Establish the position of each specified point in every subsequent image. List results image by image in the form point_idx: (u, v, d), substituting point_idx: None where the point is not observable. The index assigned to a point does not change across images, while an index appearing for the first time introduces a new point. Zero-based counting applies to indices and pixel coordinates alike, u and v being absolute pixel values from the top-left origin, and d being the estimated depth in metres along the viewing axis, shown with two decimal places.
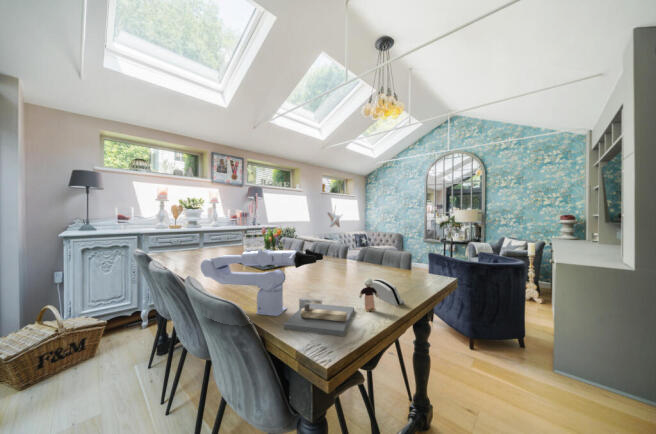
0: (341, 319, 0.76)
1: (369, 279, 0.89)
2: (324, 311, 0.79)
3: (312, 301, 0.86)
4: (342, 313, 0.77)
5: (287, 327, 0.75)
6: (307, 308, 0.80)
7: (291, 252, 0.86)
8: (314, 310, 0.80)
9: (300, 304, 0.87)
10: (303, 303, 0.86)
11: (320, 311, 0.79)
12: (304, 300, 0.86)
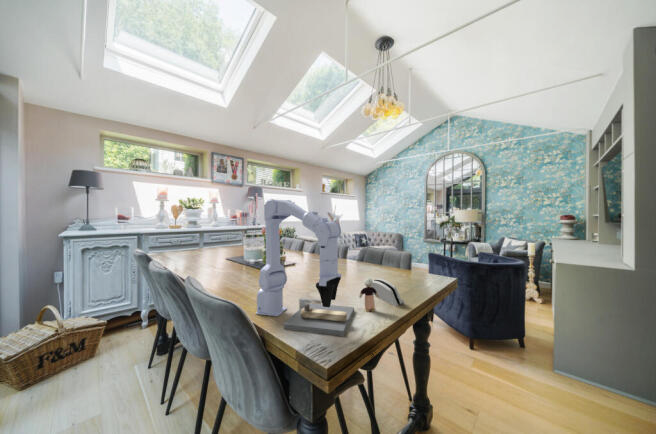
0: (341, 319, 0.76)
1: (369, 279, 0.89)
2: (324, 311, 0.79)
3: (312, 301, 0.86)
4: (342, 313, 0.77)
5: (287, 327, 0.75)
6: (307, 308, 0.80)
7: (334, 270, 0.70)
8: (314, 310, 0.80)
9: (300, 304, 0.87)
10: (303, 303, 0.86)
11: (320, 311, 0.79)
12: (304, 300, 0.86)
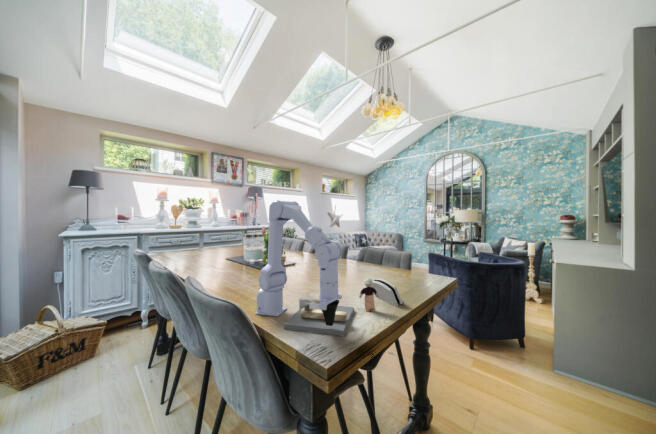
0: (341, 319, 0.76)
1: (369, 279, 0.89)
2: None
3: (312, 301, 0.86)
4: (342, 313, 0.77)
5: (287, 327, 0.75)
6: (307, 308, 0.80)
7: (334, 293, 0.70)
8: (314, 310, 0.80)
9: (300, 304, 0.87)
10: (303, 303, 0.86)
11: (320, 311, 0.79)
12: (304, 300, 0.86)
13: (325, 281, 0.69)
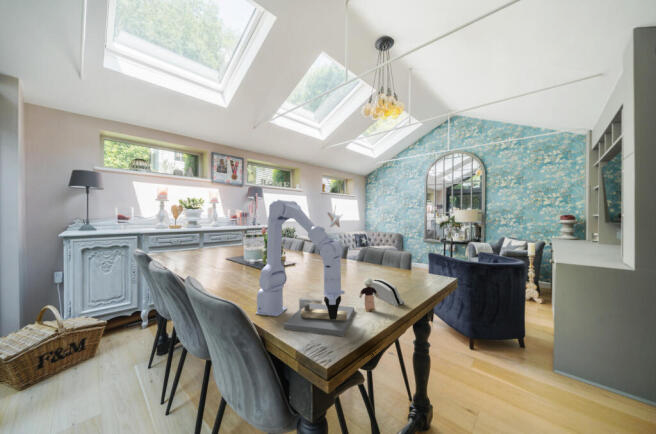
0: (341, 318, 0.76)
1: (369, 279, 0.89)
2: (324, 311, 0.79)
3: (312, 301, 0.86)
4: (342, 312, 0.78)
5: (287, 327, 0.75)
6: (307, 308, 0.80)
7: (339, 288, 0.74)
8: (314, 310, 0.80)
9: (300, 304, 0.87)
10: (303, 303, 0.86)
11: (320, 311, 0.79)
12: (304, 300, 0.86)
13: (330, 278, 0.74)
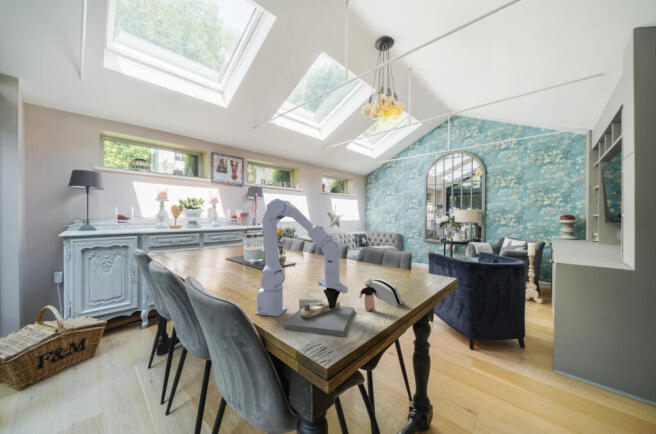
0: (337, 306, 0.87)
1: (369, 279, 0.89)
2: (321, 305, 0.84)
3: (312, 301, 0.86)
4: None
5: (287, 327, 0.75)
6: (309, 307, 0.80)
7: (339, 279, 0.85)
8: (313, 307, 0.82)
9: (300, 304, 0.87)
10: (303, 303, 0.86)
11: (319, 306, 0.84)
12: (304, 300, 0.86)
13: (332, 271, 0.83)
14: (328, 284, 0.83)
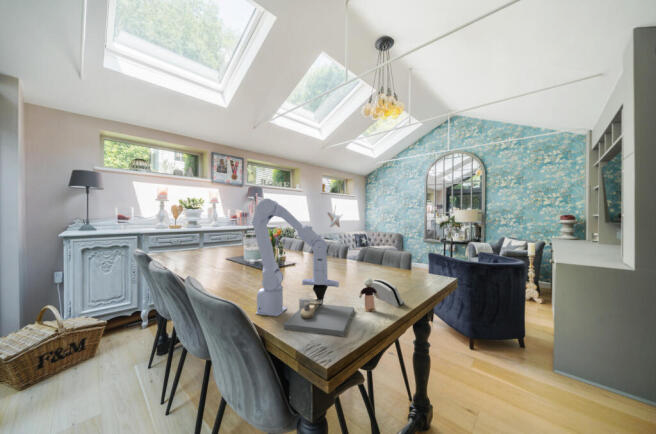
0: None
1: (369, 279, 0.89)
2: (312, 303, 0.87)
3: (312, 301, 0.86)
4: None
5: (287, 327, 0.75)
6: None
7: None
8: None
9: (300, 304, 0.87)
10: (303, 303, 0.86)
11: (311, 304, 0.86)
12: (304, 300, 0.86)
13: (322, 269, 0.87)
14: (320, 281, 0.87)
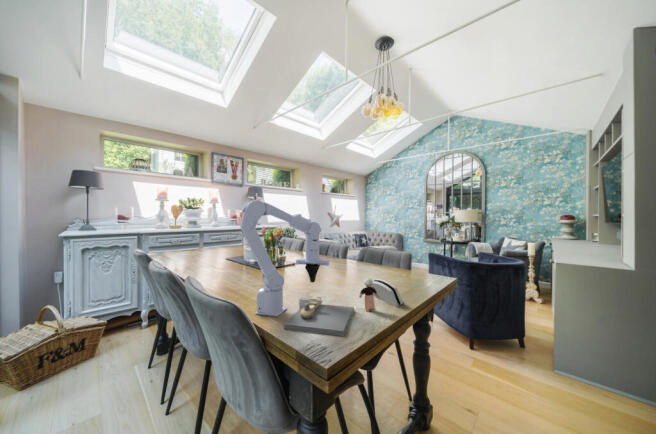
0: None
1: (369, 279, 0.89)
2: (312, 303, 0.87)
3: (312, 301, 0.86)
4: (316, 297, 0.93)
5: (287, 327, 0.75)
6: None
7: None
8: None
9: (300, 304, 0.87)
10: (303, 303, 0.86)
11: (311, 304, 0.86)
12: (304, 300, 0.86)
13: (316, 248, 0.96)
14: (312, 260, 0.95)
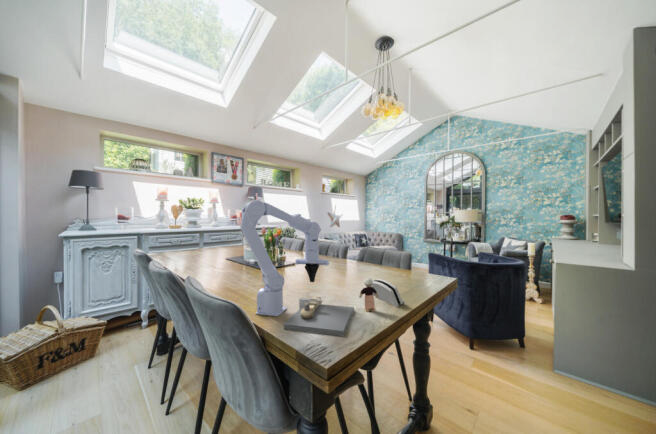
0: None
1: (369, 279, 0.89)
2: (312, 303, 0.87)
3: (312, 301, 0.86)
4: (316, 297, 0.93)
5: (287, 327, 0.75)
6: None
7: None
8: None
9: (300, 304, 0.87)
10: (303, 303, 0.86)
11: (311, 304, 0.86)
12: (304, 300, 0.86)
13: (316, 248, 0.97)
14: (312, 260, 0.96)
